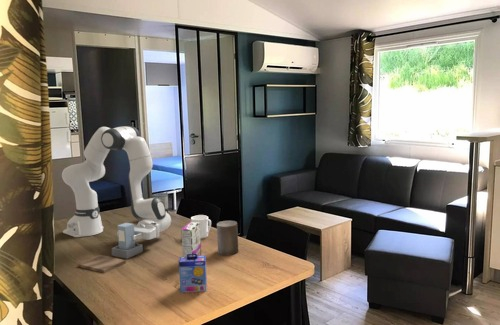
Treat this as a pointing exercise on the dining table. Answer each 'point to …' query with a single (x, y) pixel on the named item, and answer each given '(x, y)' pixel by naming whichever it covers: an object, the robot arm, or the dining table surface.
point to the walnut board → (102, 263)
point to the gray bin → (127, 251)
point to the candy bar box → (191, 239)
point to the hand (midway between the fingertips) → (124, 236)
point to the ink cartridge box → (192, 273)
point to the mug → (202, 224)
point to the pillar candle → (227, 237)
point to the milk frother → (163, 197)
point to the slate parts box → (126, 236)
